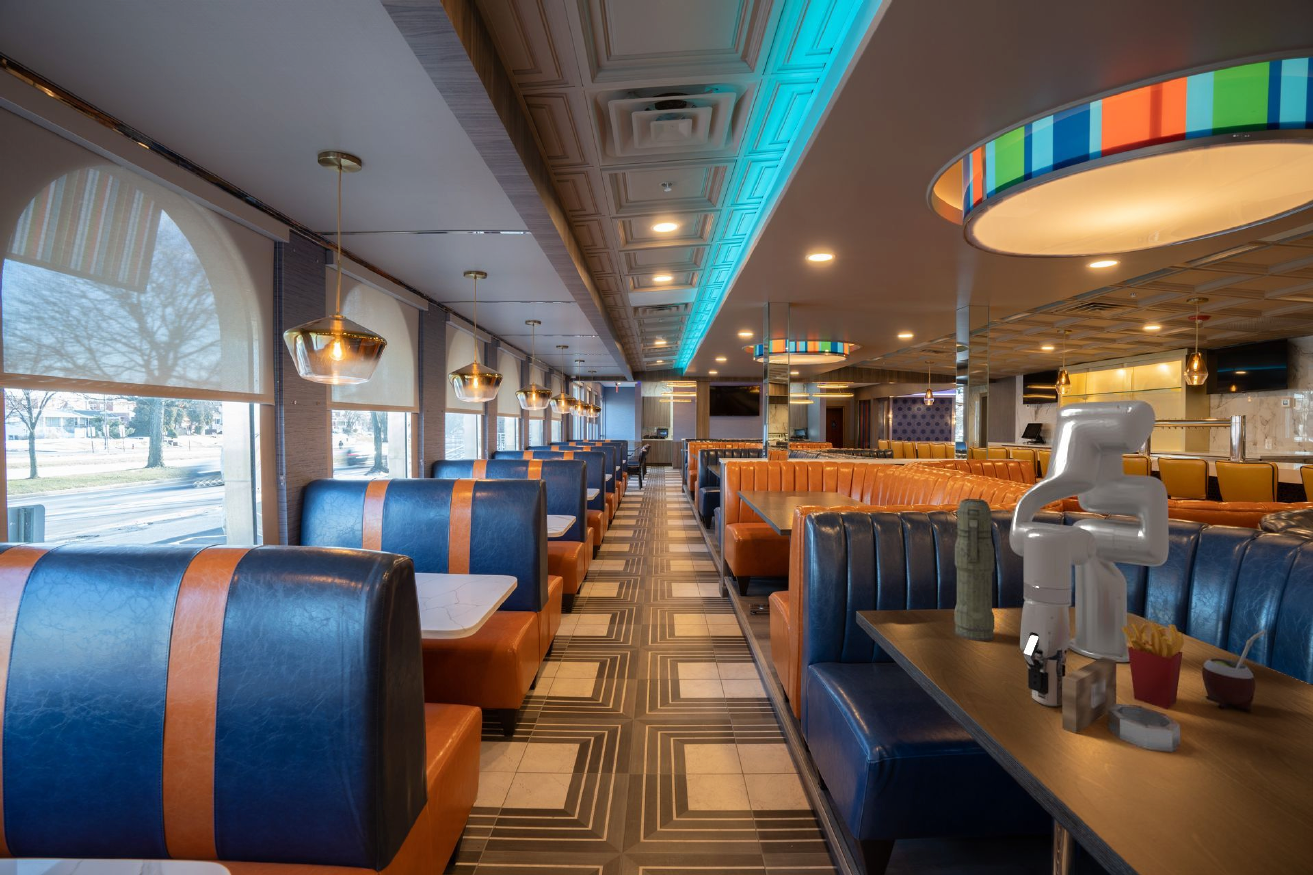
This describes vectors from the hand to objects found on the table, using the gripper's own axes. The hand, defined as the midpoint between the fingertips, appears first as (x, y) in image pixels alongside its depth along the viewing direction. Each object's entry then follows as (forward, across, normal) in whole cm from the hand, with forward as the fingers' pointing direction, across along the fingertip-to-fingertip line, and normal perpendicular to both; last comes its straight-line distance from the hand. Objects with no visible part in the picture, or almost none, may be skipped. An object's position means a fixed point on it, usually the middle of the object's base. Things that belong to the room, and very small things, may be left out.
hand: (1046, 685), depth 106 cm
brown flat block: (+3, 0, +7) cm, 8 cm away
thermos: (+3, -24, -27) cm, 37 cm away
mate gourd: (+3, -28, +19) cm, 34 cm away
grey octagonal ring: (+3, 0, +14) cm, 15 cm away
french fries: (+3, -20, +10) cm, 22 cm away
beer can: (+3, 0, 0) cm, 3 cm away
